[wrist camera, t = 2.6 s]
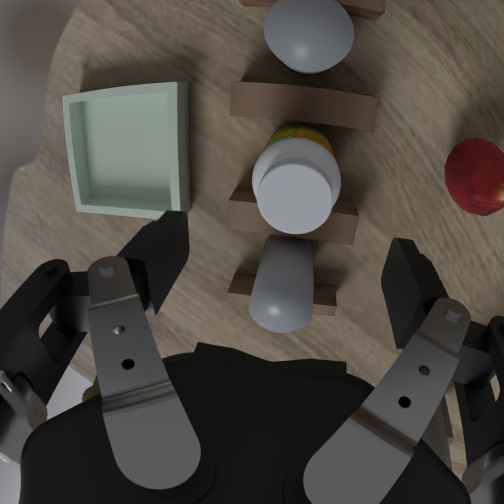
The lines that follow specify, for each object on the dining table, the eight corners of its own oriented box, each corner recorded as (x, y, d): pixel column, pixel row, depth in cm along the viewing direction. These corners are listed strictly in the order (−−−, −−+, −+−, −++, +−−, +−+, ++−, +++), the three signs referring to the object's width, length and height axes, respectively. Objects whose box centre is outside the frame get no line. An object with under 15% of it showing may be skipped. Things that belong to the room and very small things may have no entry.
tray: (189, 81, 22) (177, 81, 20) (190, 209, 28) (181, 221, 26) (79, 92, 23) (62, 96, 21) (90, 201, 29) (77, 211, 27)
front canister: (340, 24, 18) (355, -2, 11) (336, 78, 20) (351, 76, 13) (279, 17, 18) (265, -11, 11) (275, 71, 21) (261, 66, 14)
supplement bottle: (296, 109, 22) (290, 126, 14) (346, 155, 23) (368, 200, 15) (252, 158, 25) (222, 202, 16) (301, 199, 26) (297, 263, 18)
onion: (476, 199, 22) (519, 243, 16) (424, 187, 23) (462, 231, 16) (490, 139, 19) (544, 168, 13) (437, 122, 20) (486, 144, 13)
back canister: (317, 233, 27) (318, 289, 20) (309, 275, 30) (307, 336, 23) (265, 226, 28) (250, 280, 21) (262, 269, 30) (247, 327, 23)
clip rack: (375, 6, 16) (384, -3, 14) (332, 296, 30) (333, 316, 28) (244, -7, 17) (236, -17, 15) (234, 283, 32) (227, 302, 29)
